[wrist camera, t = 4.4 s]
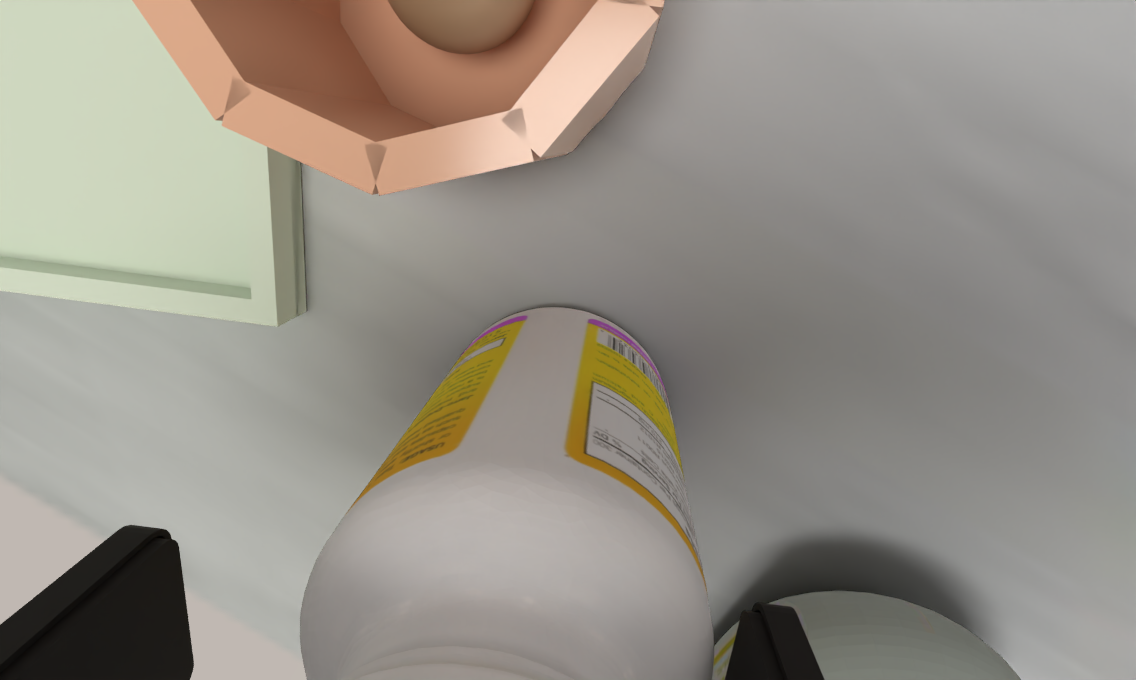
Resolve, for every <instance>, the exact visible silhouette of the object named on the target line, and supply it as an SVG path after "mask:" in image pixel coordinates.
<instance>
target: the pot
mask: <svg viewBox="0 0 1136 680" xmlns="http://www.w3.org/2000/svg"><path fill="white" fill-rule="evenodd" d="M132 1H133V2H134V4H135V5H136V7H137V8H138V9H139V11H140V12H141V14H142V15H143V17H144V18H145V20H146V21H147V22H148V24H149V25H150V27H151V28H152V30H153V31H154V33H155V34H156V36H157V37H158V38H159V40H160V41H161V43H162V44H163V46H164V47H165V49H166V50H167V51H168V53H169V54H170V56H171V57H172V59H173V60H174V62H175V63H176V64H177V66H178V67H179V69H180V70H181V72H182V73H183V75H184V76H185V77H186V79H187V80H188V82H189V83H190V85H191V86H192V88H193V89H194V90H195V92H196V93H197V95H198V96H199V98H200V99H201V101H202V102H203V104H204V105H205V106H206V108H207V109H208V111H209V112H210V114H211V115H212V117H213V118H214V119H215V120H217V121H222V126H223V127H225V128H227V129H230V130H232V131H234V132H236V133H238V134H240V135H243V136H245V137H247V138H249V139H251V140H254V141H256V142H258V143H260V144H262V145H265V146H267V147H269V148H271V149H273V150H275V151H278V152H280V153H282V154H284V155H286V156H289V157H291V158H293V159H295V160H297V161H299V162H302V163H304V164H306V165H308V166H310V167H313V168H315V169H317V170H319V171H321V172H323V173H326V174H328V175H330V176H332V177H334V178H337V179H339V180H341V181H343V182H345V183H347V184H350V185H352V186H354V187H356V188H358V189H361V190H363V191H365V192H367V193H369V194H371V195H373V194H378V193H379V196H380V195H384V194H389V193H394V192H398V191H403V190H408V189H412V188H417V187H422V186H426V185H431V184H436V183H440V182H445V181H450V180H454V179H459V178H463V177H468V176H473V175H477V174H482V173H486V172H491V171H495V170H500V169H504V168H509V167H513V166H518V165H523V164H527V163H532V162H536V161H541V160H545V159H550V158H554V157H559V156H563V155H568V153H569V152H572V151H573V150H574V149H575V148H576V147H577V146H578V144H579V143H580V142H581V141H582V140H583V139H584V137H585V136H586V135H587V134H588V133H589V132H590V131H591V129H592V128H593V127H594V126H595V125H596V124H597V123H598V122H599V121H600V120H601V119H602V118H603V117H604V116H605V115H606V114H607V113H608V112H609V110H610V109H611V108H612V107H613V105H614V104H615V103H616V102H617V100H618V99H619V97H620V96H621V94H622V93H623V92H624V91H625V90H626V89H627V87H628V86H629V85H630V84H631V83H632V82H633V81H634V79H635V78H636V77H637V76H638V75H639V74H640V72H641V71H642V70H643V69H644V66H645V63H646V62H647V59H648V56H649V52H650V49H651V46H652V43H653V39H654V36H655V33H656V30H657V26H658V23H659V20H660V17H661V13H662V10H663V6H664V0H535V2H534V4H533V7H532V10H531V12H530V13H529V15H528V17H527V19H526V21H525V22H524V23H523V25H522V26H521V28H520V29H519V30H518V31H517V32H516V33H515V34H514V35H513V36H512V37H511V38H510V39H508V40H507V41H506V42H504V43H503V44H501V45H499V46H498V47H495V48H493V49H491V50H488V51H485V52H481V53H476V54H456V53H450V52H446V51H443V50H440V49H437V48H435V47H433V46H431V45H429V44H427V43H426V42H424V41H423V40H421V39H420V38H418V37H417V36H416V35H415V34H413V33H412V32H411V31H410V30H409V29H408V28H407V27H406V26H405V25H404V24H403V23H402V22H401V20H400V19H399V18H398V16H397V15H396V13H395V12H394V11H393V9H392V7H391V6H390V4H389V2H388V0H132Z"/></svg>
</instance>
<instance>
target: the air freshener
mask: <svg viewBox="0 0 1136 680" xmlns="http://www.w3.org/2000/svg"><path fill="white" fill-rule="evenodd" d="M767 604H774V605H782V606H790V607H792V608H794V609H795V611H796V613H797V615H798V617H799V620H800V622H801V624H802V627H803V629H804V632H805V634H806V636H807V639H808V641H809V644H810V646H811V648H812V651H813V653H814V655H815V658H816V660H817V663H818V665H819V667H820V670H821V672H822V675H823V677H824V679H825V680H1021V679H1020V678H1019V676H1018V675H1017V674H1016V673H1015V672H1014V671H1013V669H1012V668H1011V667H1010V666H1009V665H1008V663H1007V662H1006V661H1005V660H1004V659H1003V658H1002V657H1001V656H1000V655H999V654H998V653H997V652H995V651H994V650H993V649H992V648H991V647H989V646H988V645H987V644H986V643H984V642H983V641H982V640H981V639H979V638H978V637H977V636H976V635H974V634H973V633H972V632H970V631H969V630H967V629H966V628H964V627H962V626H961V625H959V624H957V623H955V622H953V621H951V620H950V619H948V618H946V617H944V616H942V615H941V614H939V613H937V612H934V611H932V610H930V609H927V608H924V607H921V606H919V605H916V604H913V603H910V602H908V601H905V600H901V599H898V598H893V597H888V596H883V595H879V594H874V593H867V592H853V591H824V592H811V593H806V594H800V595H795V596H790V597H785V598H782V599H779V600H776V601H773V602H770V603H767ZM739 621H740V620H739ZM739 621H738V622H737V623H736V624H735V625H733V626H732V627H731V628H730V629H729V630H728V631H727V632H726V633H725V635H724V636H723V637H722V638H721V639H720V640H719V641H718V642H717V644H716V645H715V646H714V663H713V675H712V680H725V676H726V672H727V668H728V664H729V660H730V656H731V652H732V648H733V644H734V641H735V637H736V633H737V629H738V625H739Z"/></svg>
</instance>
